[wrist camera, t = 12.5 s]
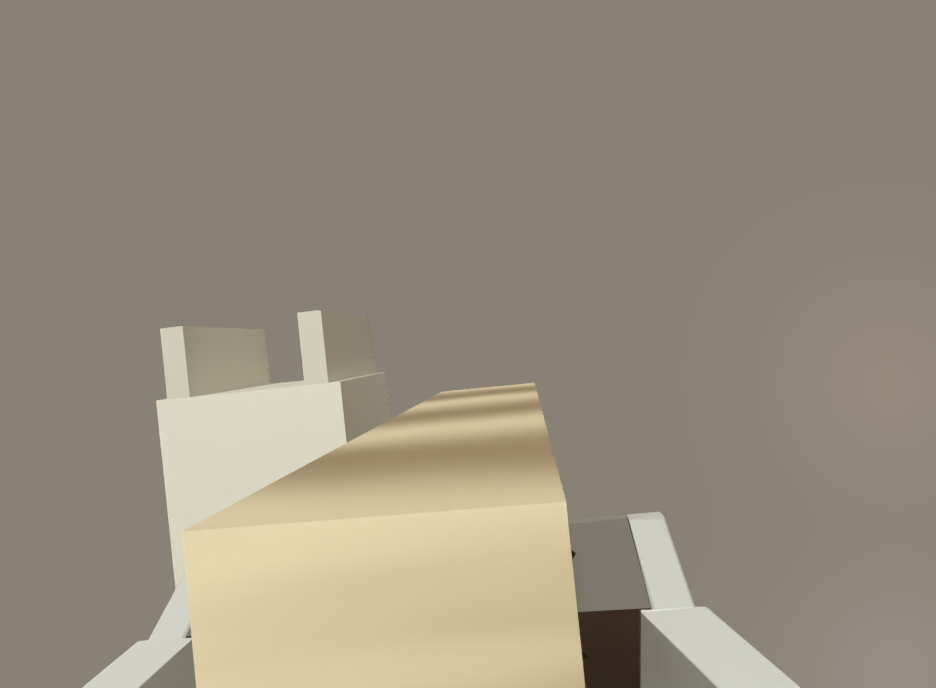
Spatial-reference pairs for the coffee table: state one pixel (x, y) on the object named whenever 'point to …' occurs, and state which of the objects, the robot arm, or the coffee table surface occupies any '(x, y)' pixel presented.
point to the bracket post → (258, 411)
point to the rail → (397, 561)
